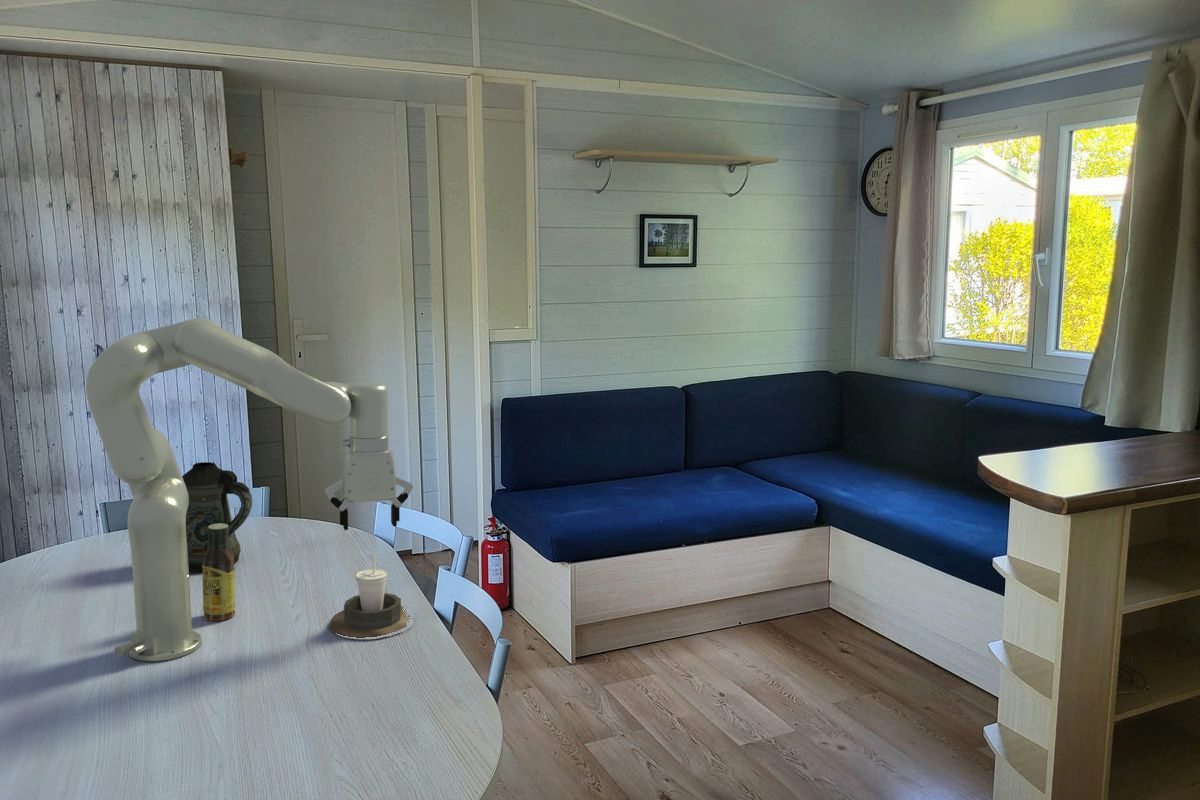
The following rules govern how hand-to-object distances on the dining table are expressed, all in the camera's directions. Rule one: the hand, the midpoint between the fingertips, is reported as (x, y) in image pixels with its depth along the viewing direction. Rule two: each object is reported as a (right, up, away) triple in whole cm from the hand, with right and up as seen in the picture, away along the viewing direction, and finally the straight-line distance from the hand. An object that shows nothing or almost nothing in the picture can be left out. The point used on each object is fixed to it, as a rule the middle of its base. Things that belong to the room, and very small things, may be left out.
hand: (369, 526), depth 182 cm
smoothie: (0, -20, +3) cm, 20 cm away
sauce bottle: (-33, -20, +5) cm, 39 cm away
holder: (0, -21, +3) cm, 21 cm away
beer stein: (-49, -15, +39) cm, 65 cm away
